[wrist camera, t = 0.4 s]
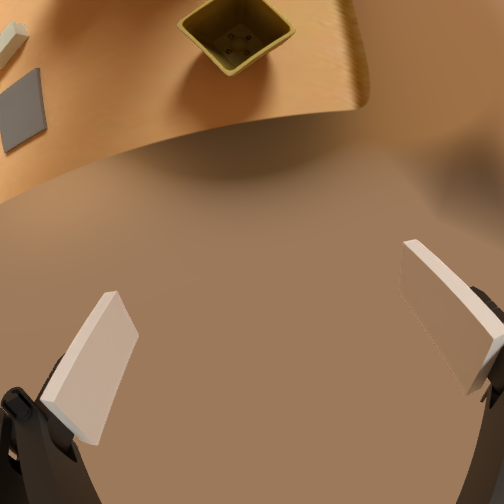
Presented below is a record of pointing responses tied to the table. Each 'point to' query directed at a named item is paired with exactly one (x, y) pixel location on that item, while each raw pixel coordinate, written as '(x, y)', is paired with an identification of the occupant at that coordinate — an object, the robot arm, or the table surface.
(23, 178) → the table surface
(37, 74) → the slate coaster
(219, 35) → the flower pot
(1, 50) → the sage block
